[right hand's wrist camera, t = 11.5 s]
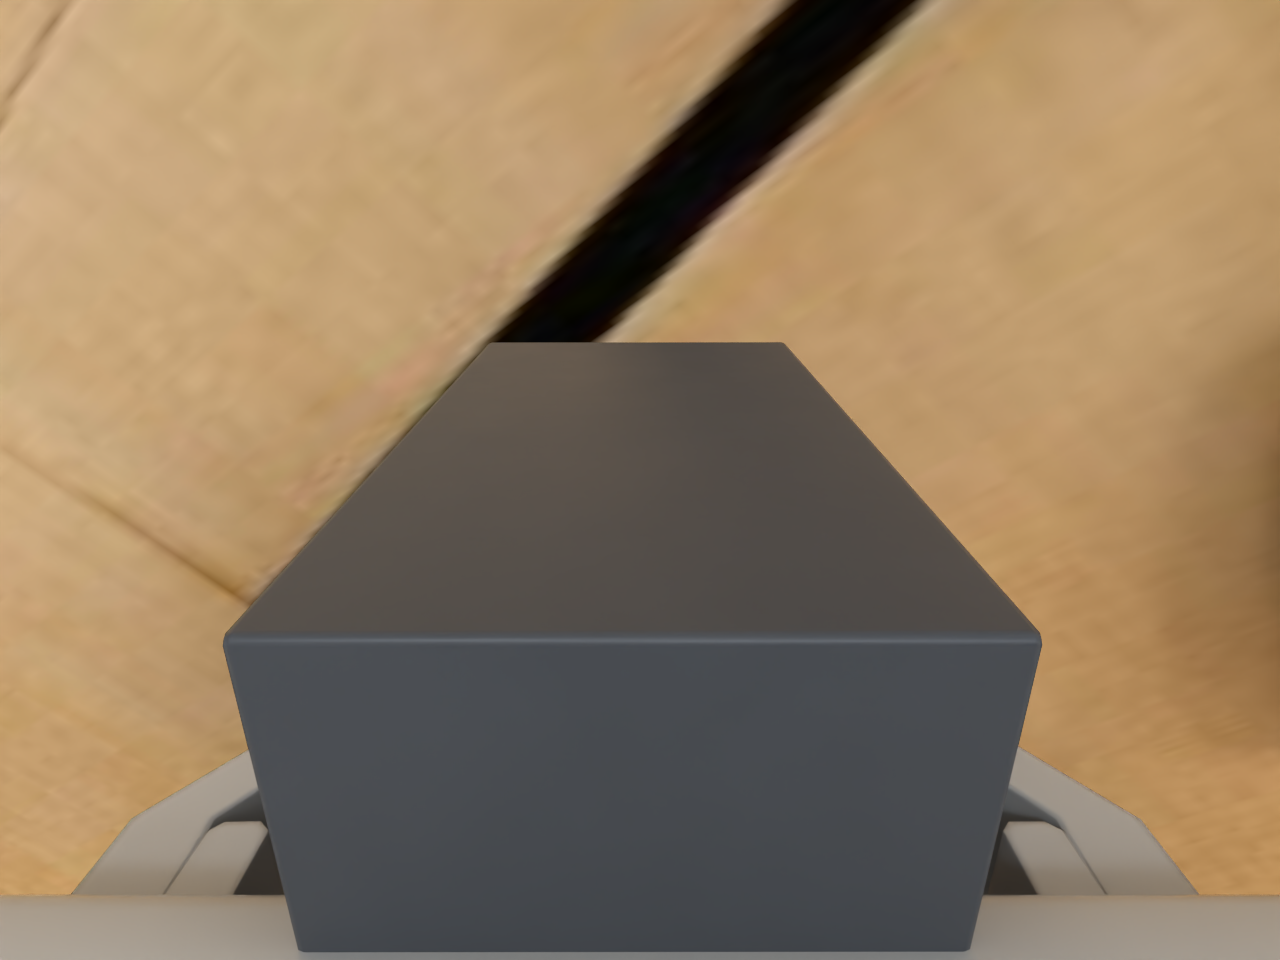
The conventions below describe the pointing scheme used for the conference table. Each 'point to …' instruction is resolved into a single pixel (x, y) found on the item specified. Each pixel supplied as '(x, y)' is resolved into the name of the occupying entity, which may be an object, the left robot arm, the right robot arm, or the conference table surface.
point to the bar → (633, 675)
